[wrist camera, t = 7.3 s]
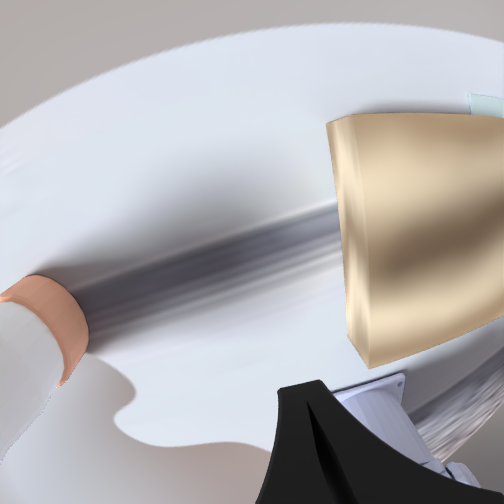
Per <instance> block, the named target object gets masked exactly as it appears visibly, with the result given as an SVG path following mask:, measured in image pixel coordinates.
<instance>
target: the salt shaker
mask: <svg viewBox="0 0 504 504" xmlns="http://www.w3.org/2000/svg"><path fill="white" fill-rule="evenodd" d="M88 342H89V332H88V325H87V322H86V319H85V316H84V313H83V311H82V310H81V308H80V307H79V305H78V303H77V302H76V300H75V298H74V297H73V296H72V295H71V294H70V293H69V292H68V291H67V290H66V289H65V288H64V287H63V286H61V285H60V284H58V283H57V282H55V281H54V280H52V279H50V278H47V277H43V276H40V275H33V276H26V277H25V278H23V279H22V280H20V281H19V282H17V283H16V284H14V285H13V286H11V287H10V288H9V289H7V290H6V291H4V292H3V293H2V294H0V463H1V462H2V460H3V458H4V456H5V454H6V453H7V451H8V450H9V448H10V447H11V446H12V445H13V444H14V443H15V442H16V440H17V439H18V438H19V437H20V436H21V435H22V434H23V433H24V432H25V431H26V429H27V428H28V427H29V426H30V425H31V424H32V423H33V422H34V420H35V419H36V418H37V417H38V416H39V415H40V414H41V413H42V412H43V410H44V408H45V406H46V405H47V403H48V401H49V399H50V397H51V395H52V394H53V392H54V390H55V388H56V387H59V386H61V385H62V384H64V383H65V381H66V380H68V378H69V377H70V375H71V373H72V372H73V370H74V369H75V367H76V366H77V364H78V362H79V361H80V359H81V358H82V356H83V355H84V353H85V351H86V348H87V345H88Z"/></svg>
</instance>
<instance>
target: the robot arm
mask: <svg viewBox="0 0 504 504" xmlns="http://www.w3.org/2000/svg"><path fill="white" fill-rule="evenodd" d="M405 378H406V377H405V375H404V374H403V373H398V374H396V375H393V376H390V377H387V378H384V379H381V380H378V381H375V382H372V383H368V384H365V385H362V386H358V387H355V388H352V389H348V390H345V391H341V392H337V393H334V394H332V393H331V392H330V390H329V389H328V388H327V387H326V385H325V384H324V383H323V381H321V380H319V379H318V380H314V381H310V382H306V383H301V384H297V385H292V386H288V387H283V388H280V389H279V390H278V391H277V394H278V422H277V429H276V435H275V441H274V446H273V450H272V454H271V458H270V462H269V466H268V470H267V473H266V476H265V479H264V482H263V485H262V488H261V490H260V493H259V496H258V498H257V500H256V503H255V504H504V495H503V494H502V493H500V492H495V491H491V490H486V489H482V488H481V486H480V485H479V483H478V482H477V480H476V478H475V477H474V476H473V474H472V473H471V472H470V470H469V469H468V468H467V467H466V466H465V465H464V464H462V463H454V462H450V463H449V464H447V465H446V466H445V468H444V466H443V465H442V463H441V461H440V460H439V458H436V459H435V458H434V456H433V455H432V453H431V452H430V450H429V448H428V447H427V445H426V444H425V442H424V440H423V439H422V437H421V436H420V434H419V433H418V431H417V429H416V428H415V426H414V425H413V423H412V422H411V420H410V418H409V417H408V415H407V414H406V412H405V411H404V409H403V408H402V406H401V403H402V397H403V391H404V385H405Z"/></svg>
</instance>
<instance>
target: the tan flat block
mask: <svg viewBox="0 0 504 504" xmlns="http://www.w3.org/2000/svg"><path fill="white" fill-rule="evenodd" d="M326 127H327V133H328V139H329V145H330V152H331V158H332V165H333V172H334V179H335V187H336V194H337V203H338V211H339V220H340V230H341V240H342V251H343V263H344V277H345V292H346V312H347V336H348V338H349V339H350V341H351V343H352V344H353V346H354V347H355V349H356V350H357V352H358V353H359V355H360V356H361V358H362V360H363V361H364V363H365V364H366V366H367V367H368V369H372V368H375V367H378V366H381V365H385V364H388V363H391V362H394V361H397V360H400V359H402V358H405V357H408V356H411V355H414V354H416V353H419V352H422V351H424V350H427V349H430V348H432V347H435V346H437V345H440V344H442V343H445V342H447V341H450V340H452V339H454V338H457V337H459V336H461V335H464V334H466V333H468V332H471V331H473V330H475V329H477V328H479V327H481V326H484V325H486V324H488V323H490V322H492V321H494V320H496V319H498V318H500V317H502V316H504V118H501V117H491V116H480V115H467V114H448V113H374V114H354V115H349V116H346V117H343V118H341V119H338V120H335V121H332V122H329V123H326Z"/></svg>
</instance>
